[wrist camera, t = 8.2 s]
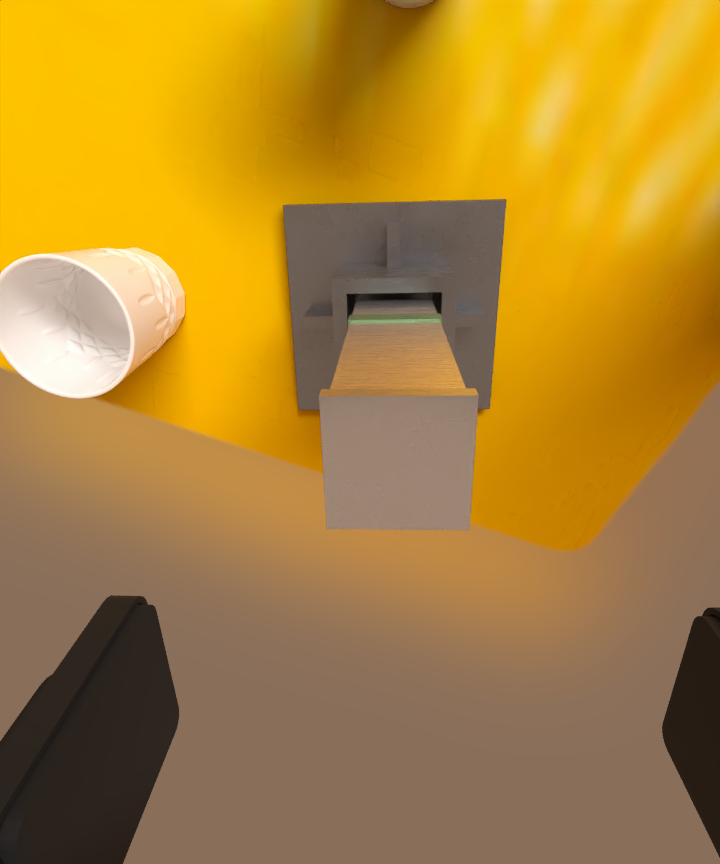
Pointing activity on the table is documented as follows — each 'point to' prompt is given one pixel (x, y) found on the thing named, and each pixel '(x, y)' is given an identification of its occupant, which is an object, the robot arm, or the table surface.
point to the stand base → (393, 278)
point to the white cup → (86, 317)
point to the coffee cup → (409, 3)
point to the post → (397, 424)
